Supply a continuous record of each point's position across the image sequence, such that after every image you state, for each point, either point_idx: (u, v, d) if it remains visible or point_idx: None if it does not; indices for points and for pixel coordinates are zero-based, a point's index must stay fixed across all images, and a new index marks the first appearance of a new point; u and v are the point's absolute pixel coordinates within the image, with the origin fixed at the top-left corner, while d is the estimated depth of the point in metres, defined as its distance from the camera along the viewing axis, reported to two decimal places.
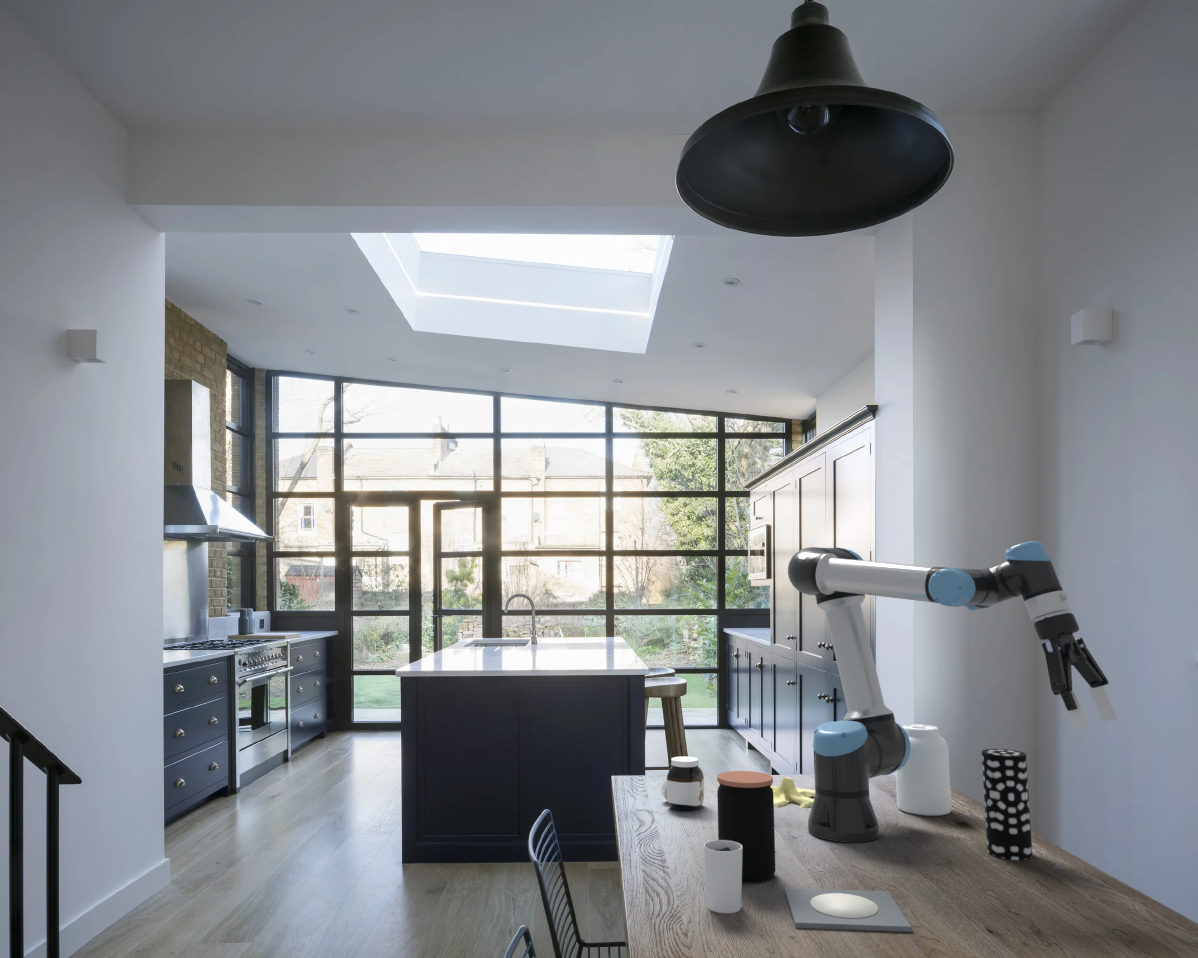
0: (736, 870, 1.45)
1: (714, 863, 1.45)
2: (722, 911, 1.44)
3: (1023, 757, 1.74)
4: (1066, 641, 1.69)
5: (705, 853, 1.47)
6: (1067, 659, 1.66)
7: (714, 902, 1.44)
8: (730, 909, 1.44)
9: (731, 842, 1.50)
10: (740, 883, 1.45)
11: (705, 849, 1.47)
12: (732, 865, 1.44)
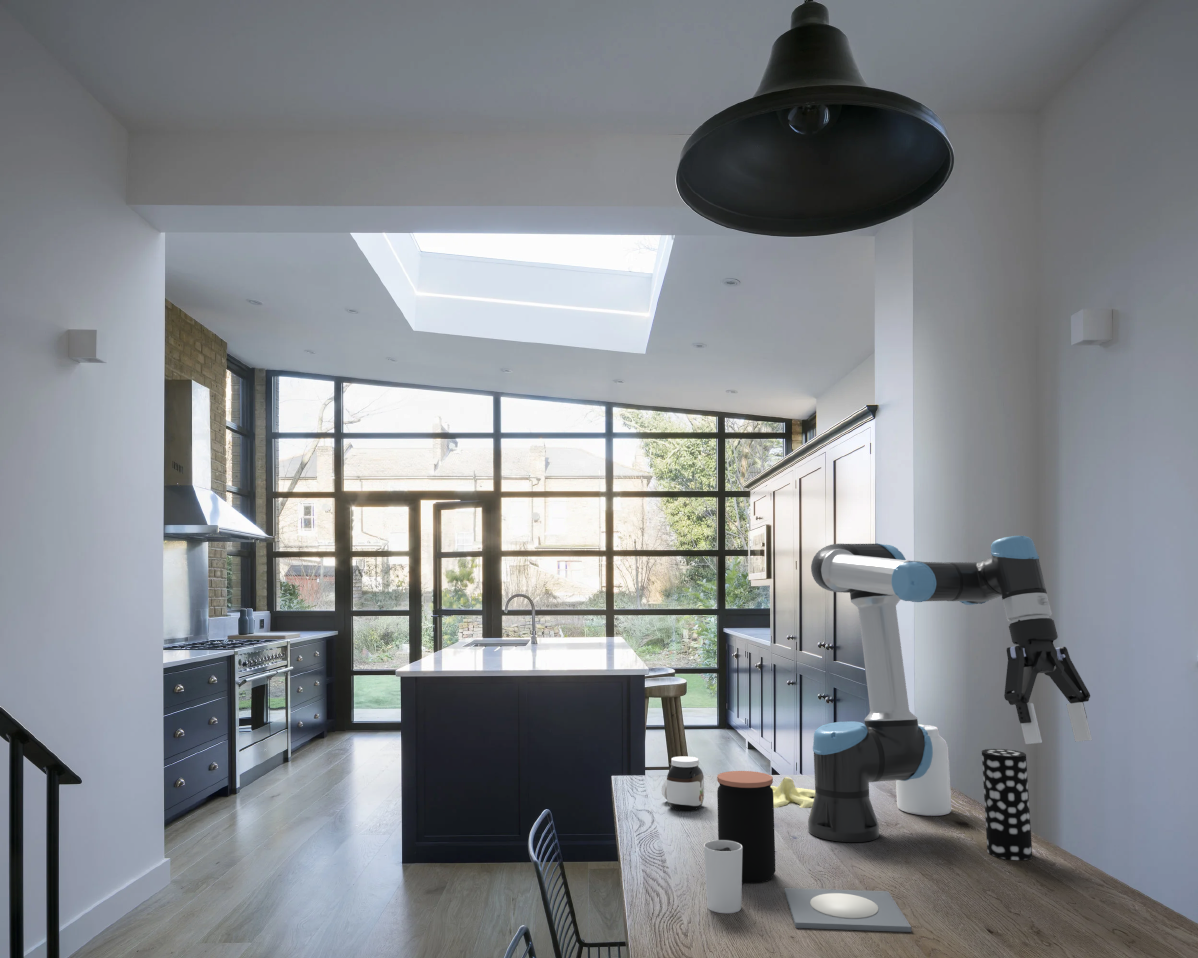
0: (736, 870, 1.45)
1: (714, 863, 1.45)
2: (722, 911, 1.44)
3: (1023, 757, 1.74)
4: (1039, 648, 1.53)
5: (705, 853, 1.47)
6: (1033, 668, 1.50)
7: (714, 902, 1.44)
8: (730, 909, 1.44)
9: (731, 842, 1.50)
10: (740, 883, 1.45)
11: (705, 849, 1.47)
12: (732, 865, 1.44)
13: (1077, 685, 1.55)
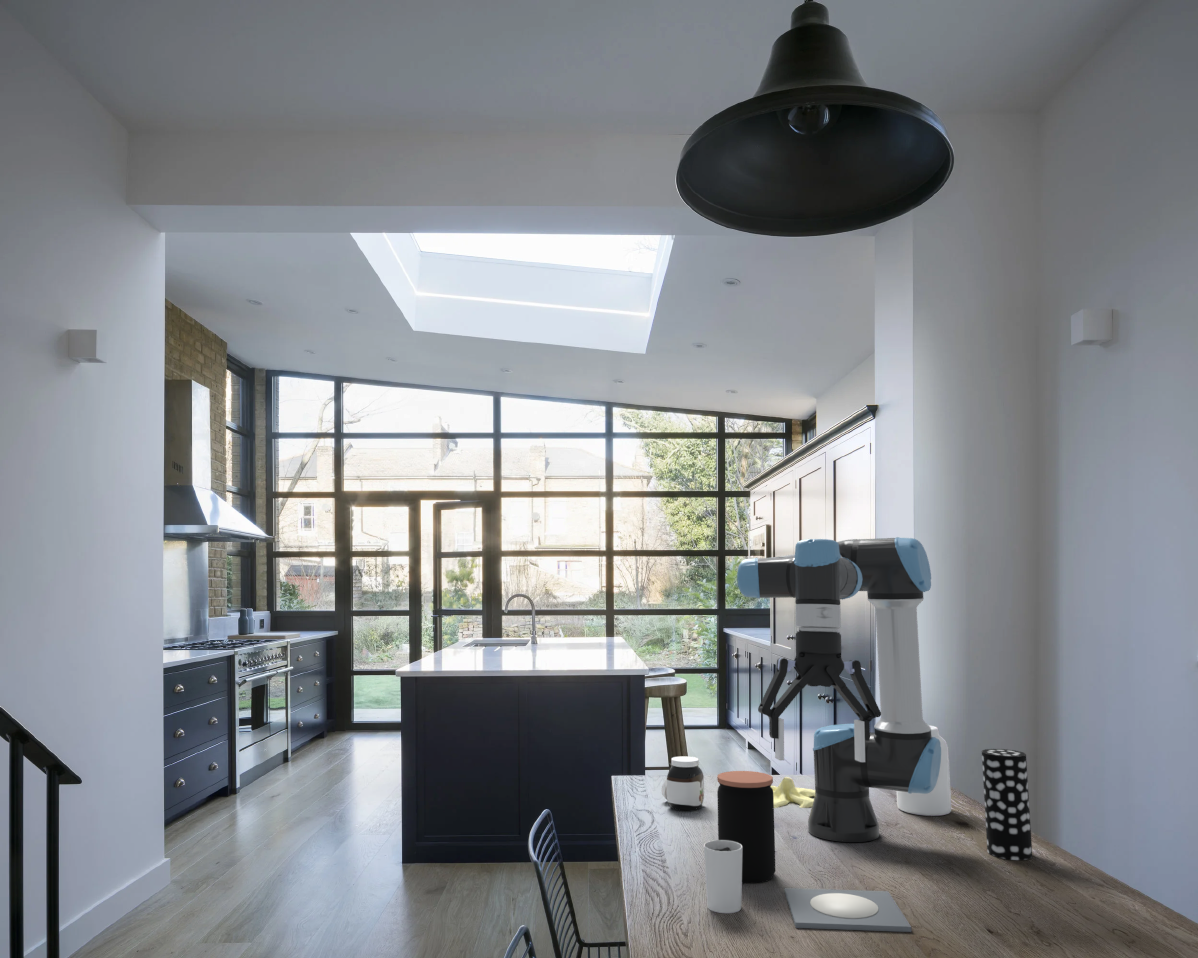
0: (736, 870, 1.45)
1: (714, 863, 1.45)
2: (722, 911, 1.44)
3: (1023, 757, 1.74)
4: (815, 662, 1.44)
5: (705, 853, 1.47)
6: (797, 683, 1.43)
7: (714, 902, 1.44)
8: (730, 909, 1.44)
9: (731, 842, 1.50)
10: (740, 883, 1.45)
11: (705, 849, 1.47)
12: (732, 865, 1.44)
13: (867, 702, 1.44)
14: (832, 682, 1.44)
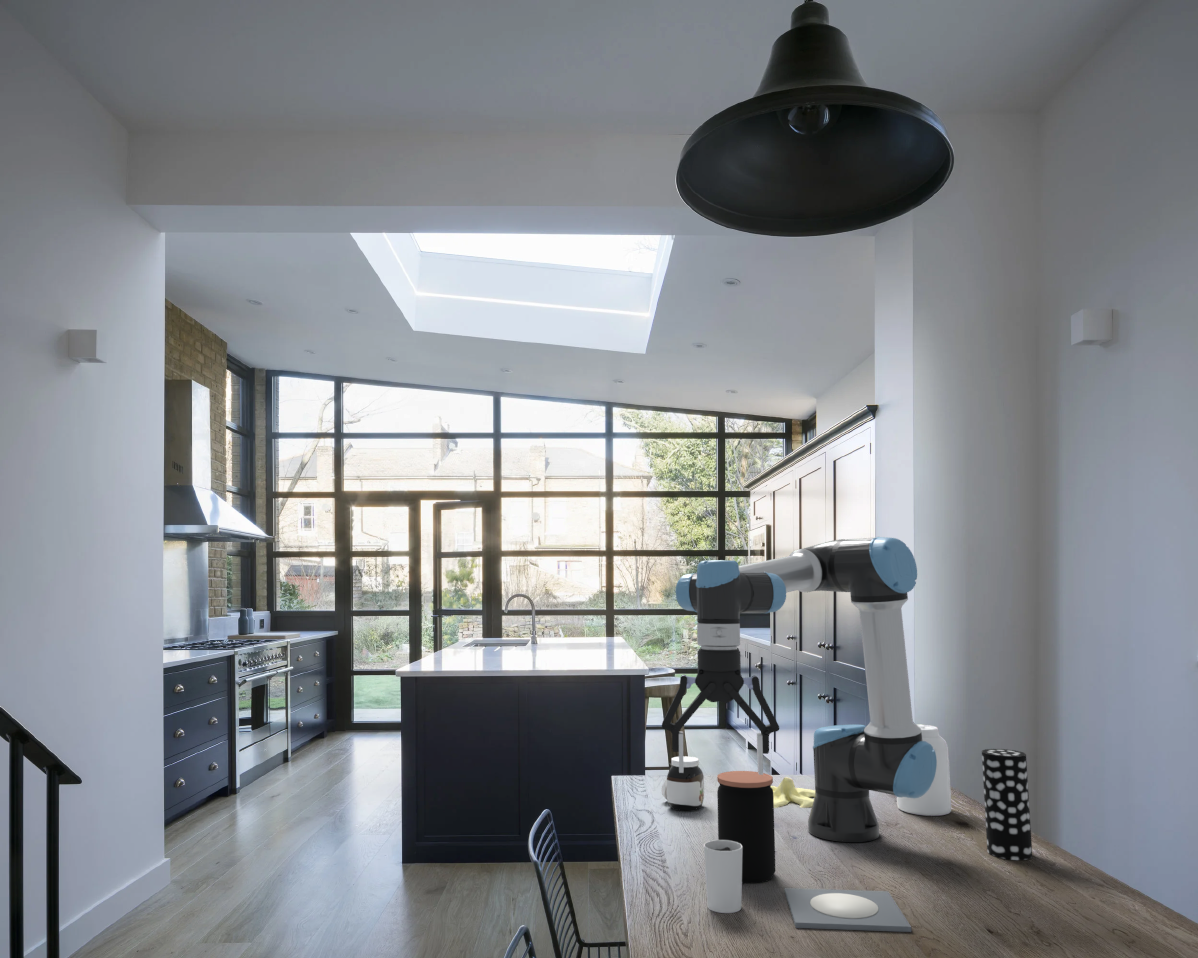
0: (736, 870, 1.45)
1: (714, 863, 1.45)
2: (722, 911, 1.44)
3: (1023, 757, 1.74)
4: (714, 679, 1.50)
5: (705, 853, 1.47)
6: (696, 699, 1.50)
7: (714, 902, 1.44)
8: (730, 909, 1.44)
9: (731, 842, 1.50)
10: (740, 883, 1.45)
11: (705, 849, 1.47)
12: (732, 865, 1.44)
13: None
14: (731, 698, 1.49)
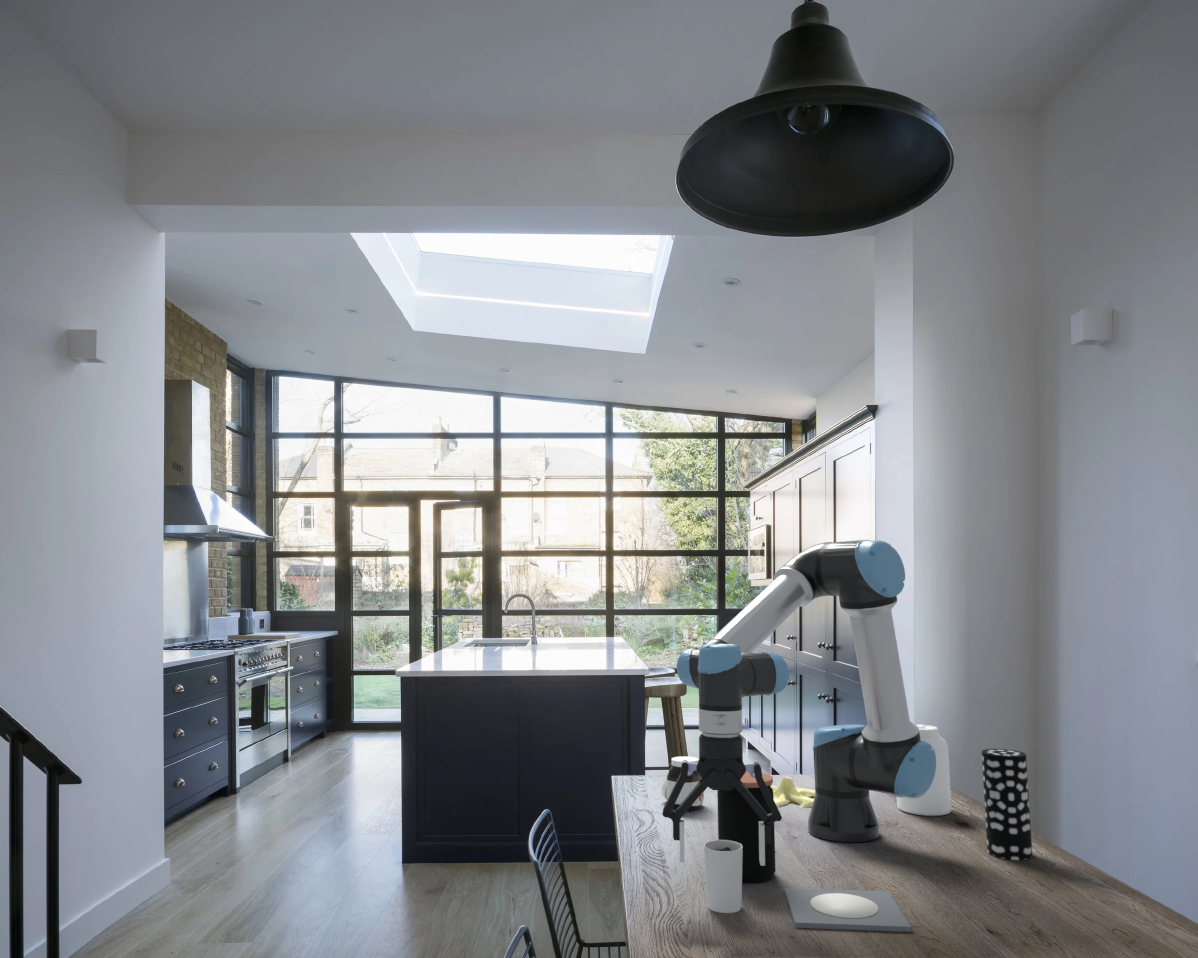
0: (736, 870, 1.45)
1: (714, 863, 1.45)
2: (722, 911, 1.44)
3: (1023, 757, 1.74)
4: (715, 766, 1.48)
5: (705, 853, 1.47)
6: (697, 786, 1.48)
7: (714, 902, 1.44)
8: (730, 909, 1.44)
9: (731, 842, 1.50)
10: (740, 883, 1.45)
11: (705, 849, 1.47)
12: (732, 865, 1.44)
13: (768, 805, 1.47)
14: (733, 786, 1.48)
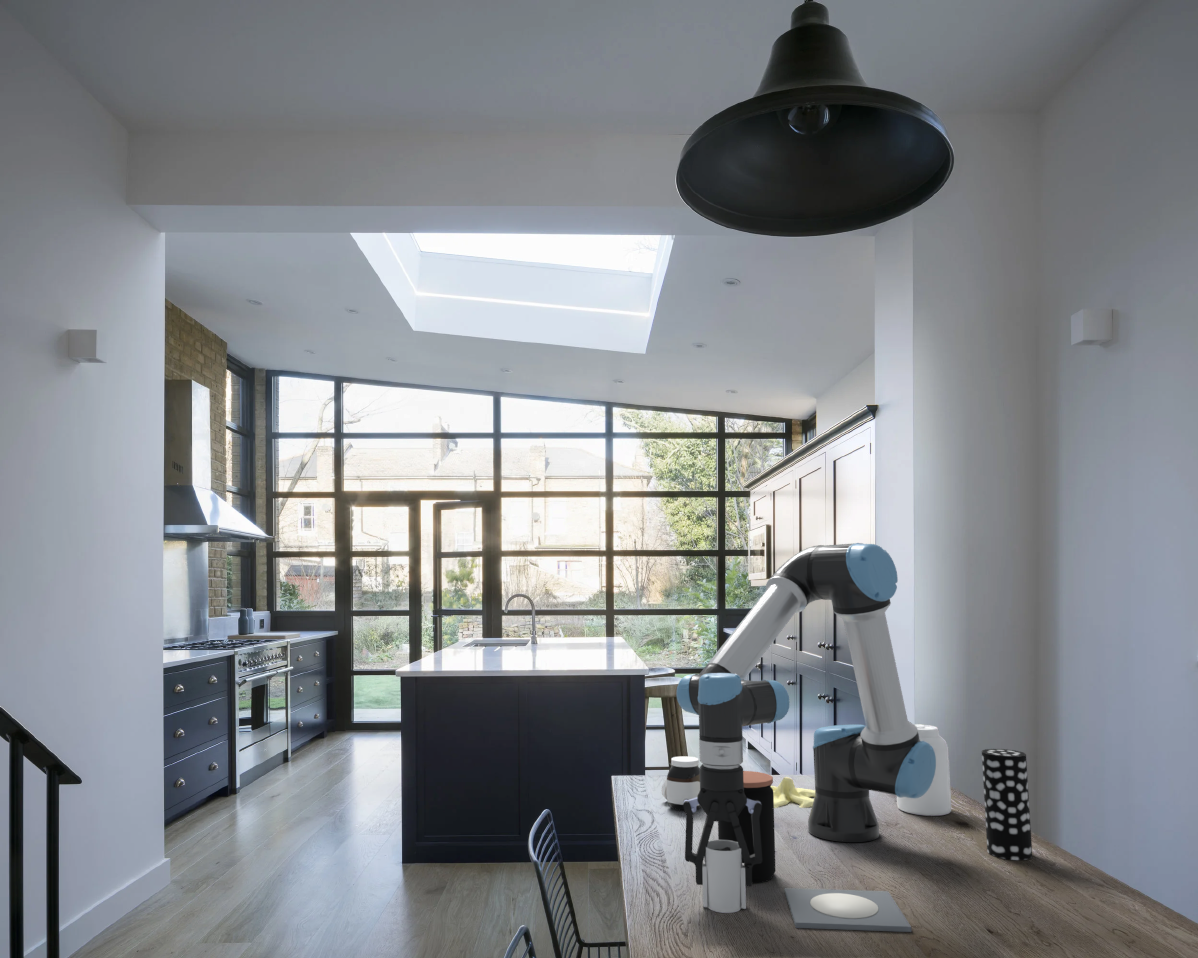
0: (736, 870, 1.45)
1: (714, 863, 1.45)
2: (722, 911, 1.44)
3: (1023, 757, 1.74)
4: (716, 797, 1.48)
5: (705, 853, 1.47)
6: None
7: (714, 902, 1.44)
8: (730, 909, 1.44)
9: (731, 842, 1.50)
10: (740, 883, 1.45)
11: None
12: (732, 865, 1.44)
13: (753, 845, 1.46)
14: (728, 818, 1.47)
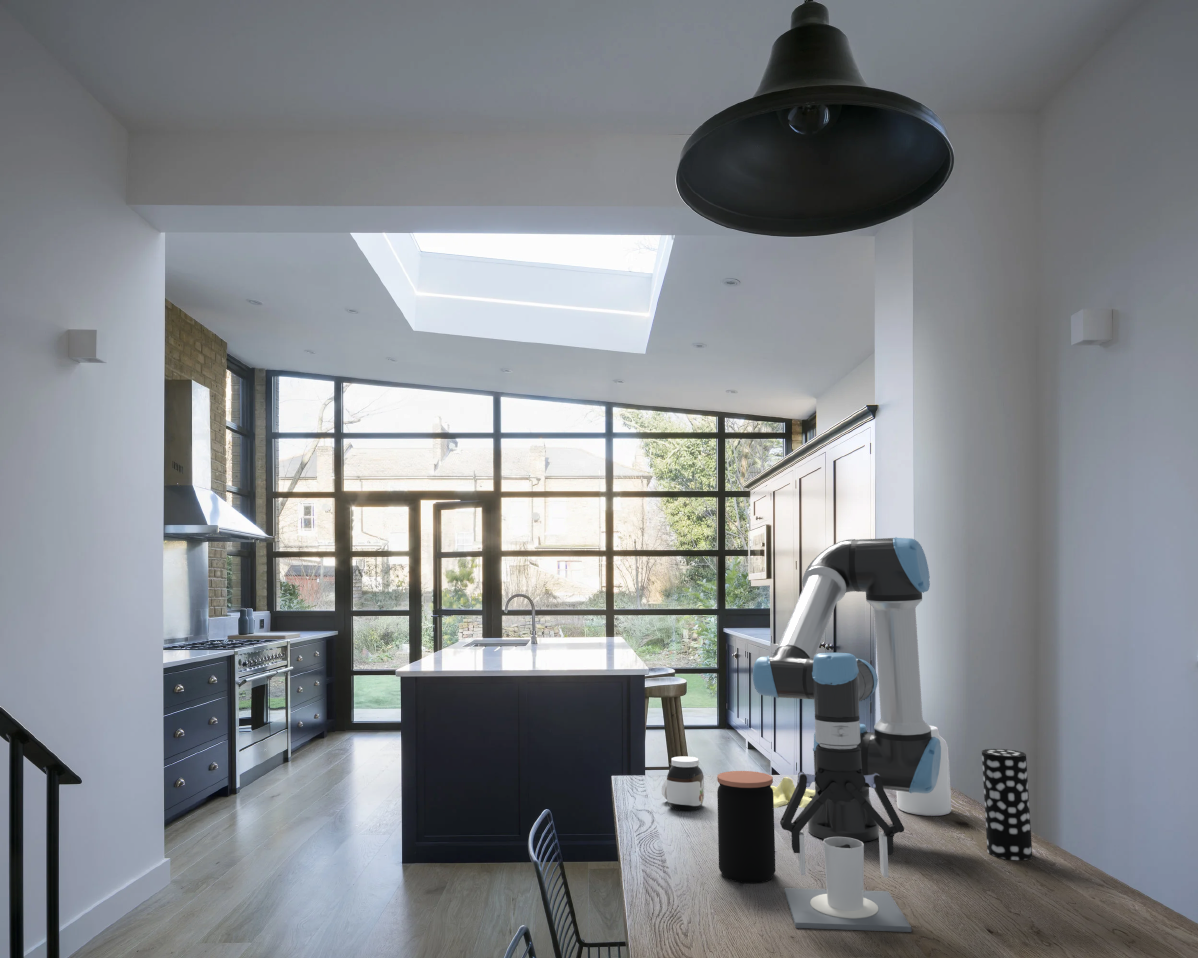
0: (859, 867, 1.43)
1: (836, 860, 1.43)
2: (845, 909, 1.42)
3: (1023, 757, 1.74)
4: (834, 778, 1.46)
5: (826, 850, 1.45)
6: (817, 798, 1.46)
7: (837, 899, 1.42)
8: (854, 907, 1.42)
9: (850, 839, 1.48)
10: (862, 881, 1.43)
11: (826, 846, 1.45)
12: (855, 862, 1.42)
13: (889, 817, 1.45)
14: (853, 797, 1.45)
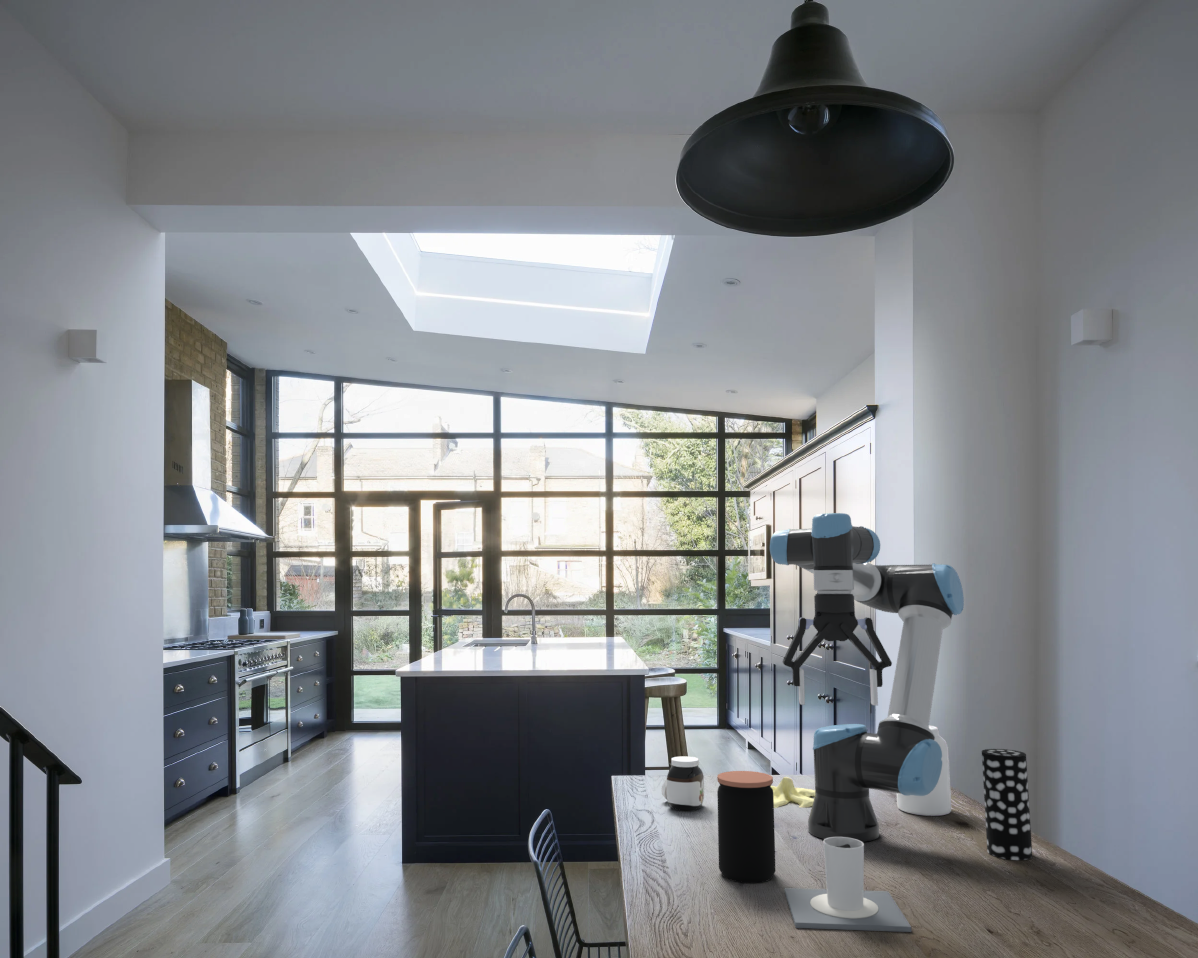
0: (859, 867, 1.43)
1: (836, 860, 1.43)
2: (845, 908, 1.42)
3: (1023, 757, 1.74)
4: (830, 620, 1.66)
5: (826, 850, 1.45)
6: (815, 638, 1.65)
7: (837, 899, 1.43)
8: (854, 907, 1.42)
9: (850, 839, 1.48)
10: (862, 881, 1.44)
11: (826, 846, 1.45)
12: (855, 862, 1.42)
13: (879, 654, 1.64)
14: (847, 637, 1.65)
